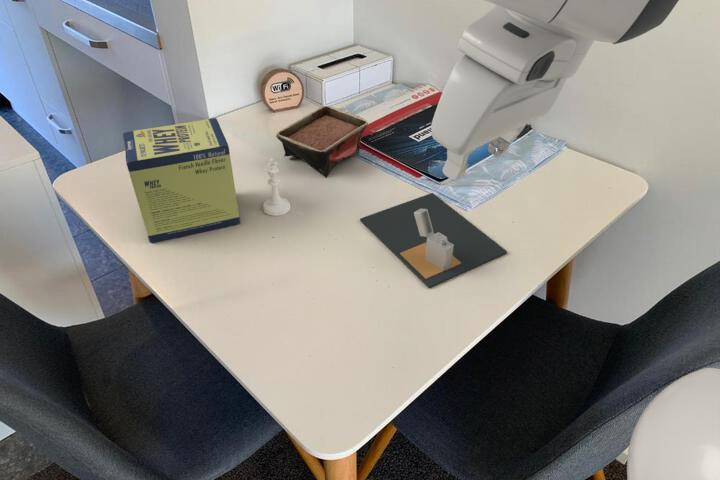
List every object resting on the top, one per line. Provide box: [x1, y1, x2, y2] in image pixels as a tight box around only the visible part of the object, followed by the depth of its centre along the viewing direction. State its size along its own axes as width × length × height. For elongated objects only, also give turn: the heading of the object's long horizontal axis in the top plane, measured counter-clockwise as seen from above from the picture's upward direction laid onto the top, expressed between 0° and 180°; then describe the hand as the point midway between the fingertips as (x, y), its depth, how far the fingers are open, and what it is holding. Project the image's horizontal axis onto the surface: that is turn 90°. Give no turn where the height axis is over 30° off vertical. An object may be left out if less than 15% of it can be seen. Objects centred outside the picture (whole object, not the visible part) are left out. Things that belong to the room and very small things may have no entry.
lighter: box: [414, 209, 454, 271], centre depth 81 cm, size 7×2×8 cm, turn 43°
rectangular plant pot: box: [275, 105, 369, 179], centre depth 107 cm, size 14×18×10 cm
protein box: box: [122, 117, 241, 244], centre depth 88 cm, size 10×16×16 cm
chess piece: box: [262, 158, 291, 217], centre depth 92 cm, size 5×5×10 cm
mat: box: [359, 192, 508, 289], centre depth 89 cm, size 20×16×1 cm
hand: (474, 163), depth 56 cm, fingers open, 8 cm apart
